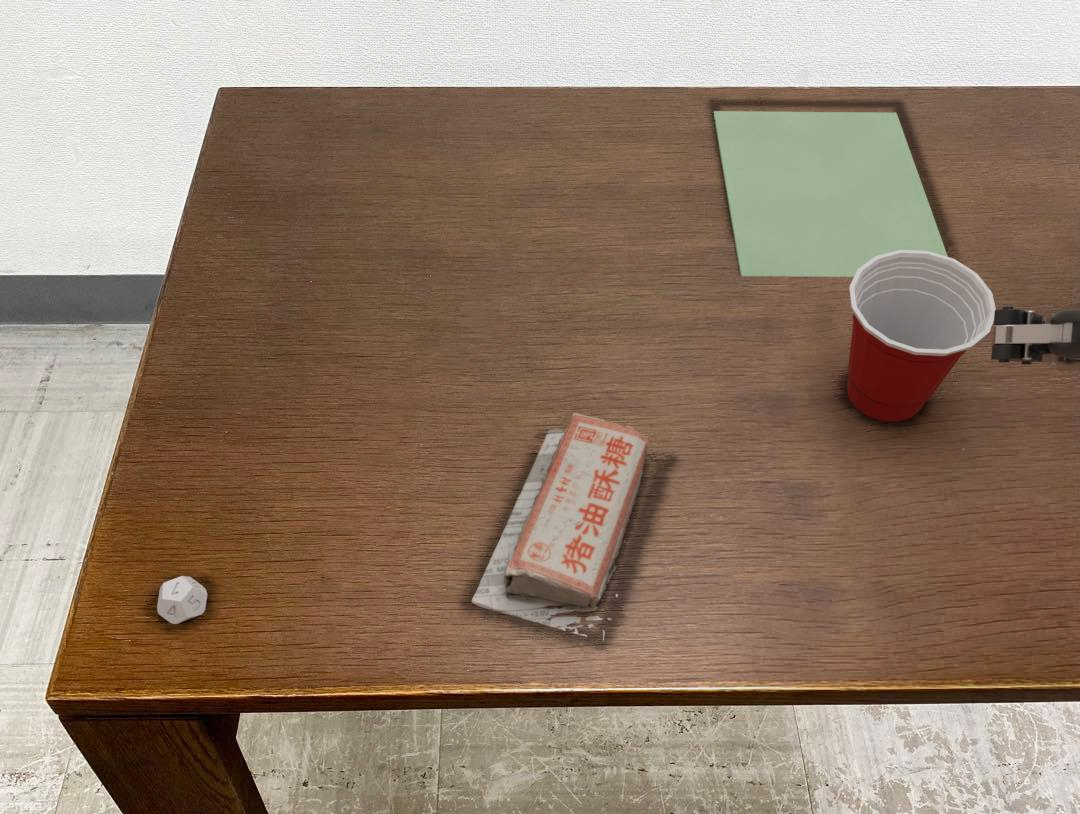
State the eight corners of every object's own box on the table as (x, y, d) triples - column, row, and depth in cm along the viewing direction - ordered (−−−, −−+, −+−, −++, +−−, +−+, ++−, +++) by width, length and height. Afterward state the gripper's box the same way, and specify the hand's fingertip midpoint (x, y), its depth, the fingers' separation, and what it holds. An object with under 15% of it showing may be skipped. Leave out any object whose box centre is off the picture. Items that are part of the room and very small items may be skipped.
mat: (895, 115, 113) (896, 112, 113) (965, 312, 94) (966, 308, 94) (713, 114, 113) (713, 110, 113) (745, 310, 94) (746, 306, 94)
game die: (220, 594, 75) (209, 570, 73) (202, 637, 73) (190, 614, 71) (174, 587, 76) (162, 564, 73) (154, 630, 73) (141, 607, 71)
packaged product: (549, 396, 81) (673, 427, 79) (548, 438, 85) (666, 468, 83) (467, 576, 70) (607, 616, 69) (470, 614, 74) (602, 653, 72)
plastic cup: (808, 440, 85) (843, 329, 75) (822, 351, 91) (857, 238, 81) (943, 467, 83) (997, 357, 73) (948, 375, 89) (999, 263, 79)
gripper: (1404, 233, 42) (1154, 277, 59) (1080, 230, 42) (924, 275, 59) (1380, 418, 43) (1142, 408, 60) (1064, 415, 43) (915, 407, 60)
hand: (1034, 342), depth 60 cm, fingers closed
